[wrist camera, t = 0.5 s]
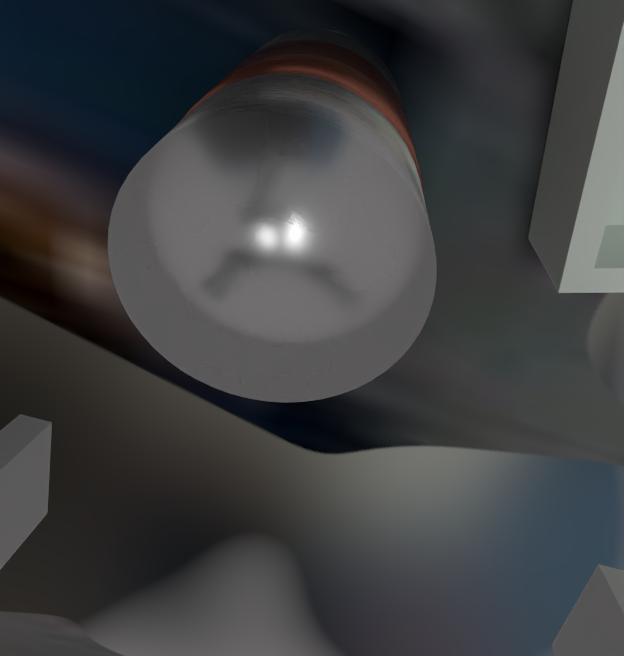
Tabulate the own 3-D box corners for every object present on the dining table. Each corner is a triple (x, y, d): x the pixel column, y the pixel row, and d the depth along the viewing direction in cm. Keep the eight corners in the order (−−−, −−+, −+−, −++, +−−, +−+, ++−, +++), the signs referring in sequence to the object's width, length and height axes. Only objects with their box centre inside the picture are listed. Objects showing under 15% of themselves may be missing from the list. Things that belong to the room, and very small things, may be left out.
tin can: (212, 31, 19) (56, 117, 10) (408, 19, 19) (455, 98, 9) (239, 214, 24) (150, 402, 14) (401, 209, 23) (428, 405, 13)
